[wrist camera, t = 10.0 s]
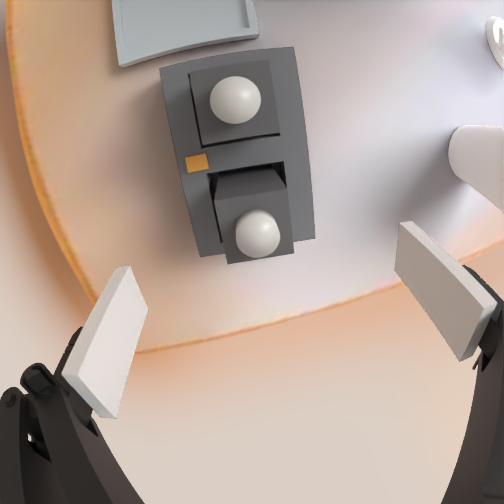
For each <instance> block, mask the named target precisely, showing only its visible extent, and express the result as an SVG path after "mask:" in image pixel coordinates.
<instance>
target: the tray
mask: <svg viewBox="0 0 504 504" xmlns="http://www.w3.org/2000/svg"><path fill="white" fill-rule="evenodd" d="M112 12H113V23H114V32H115V41H116V48H117V56H118V63H119V66H122V67H128V66H131V65H134V64H137V63H140V62H143V61H146V60H149V59H153V58H156V57H160V56H164V55H167V54H171V53H175V52H179V51H183V50H188V49H192V48H197V47H202V46H207V45H212V44H218V43H224V42H230V41H237V40H245V39H254V38H258V37H259V35H260V32H259V27H258V22H257V16H256V11H255V6H254V1H253V0H112Z"/></svg>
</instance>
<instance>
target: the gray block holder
mask: <svg viewBox="0 0 504 504" xmlns="http://www.w3.org/2000/svg"><path fill="white" fill-rule="evenodd" d="M159 70H160V76H161V82H162V88H163V93H164V99H165V104H166V110H167V115H168V120H169V125H170V130H171V135H172V140H173V145H174V149H175V154H176V159H177V163H178V168H179V172H180V177H181V181H182V185H183V190H184V194H185V198H186V202H187V207H188V211H189V215H190V219H191V223H192V227H193V231H194V235H195V239H196V242H197V246H198V250H199V254H200V257H205V256H211V255H217V254H223V253H225V249H224V245H223V240H222V236H221V231H220V227H219V222H218V217H217V213H216V208H215V203H214V198H215V193H216V187H217V182H218V177H219V173H222V172H227V171H233V170H239V169H245V168H251V167H257V166H264V165H270V164H271V166H272V167H273V169H274V170H275V172H276V173H277V174H278V176H279V177H280V179H281V180H282V182H283V183H284V185H285V186H286V188H287V191H288V199H289V208H290V217H291V227H292V236H293V242H297V241H303V240H309V239H315V225H314V210H313V196H312V184H311V173H310V163H309V153H308V144H307V135H306V126H305V118H304V111H303V103H302V96H301V89H300V82H299V76H298V69H297V63H296V57H295V51H294V47H283V48H270V49H259V50H251V51H243V52H235V53H229V54H223V55H217V56H211V57H206V58H201V59H196V60H191V61H187V62H183V63H178V64H174V65H170V66H167V67H163V68H159Z"/></svg>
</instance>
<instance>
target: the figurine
mask: <svg viewBox="0 0 504 504" xmlns="http://www.w3.org/2000/svg"><path fill="white" fill-rule="evenodd" d="M486 35H487V39H488V43H489V46H490V49H491V51H492V54H493V56H494V57H495V59H496V61H497V63H498V64H499V65H500V67H501V68H502V69H503V70H504V21H503V20H502V19H500V18H498V17H495V16H491V17H489V18H488V20H487V23H486Z"/></svg>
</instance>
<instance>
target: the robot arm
mask: <svg viewBox="0 0 504 504" xmlns="http://www.w3.org/2000/svg"><path fill="white" fill-rule="evenodd" d="M394 270H395V272H396V273H397V274H398V276H399V277H400V278H401V279H402V281H403V282H404V283H405V285H406V286H407V287H408V288H409V290H410V291H411V292H412V294H413V295H414V296H415V298H416V299H417V301H418V302H419V303H420V304H421V306H422V307H423V309H424V310H425V312H426V313H427V314H428V316H429V317H430V319H431V320H432V321H433V323H434V324H435V326H436V327H437V329H438V330H439V332H440V333H441V335H442V336H443V338H444V339H445V340H446V342H447V344H448V345H449V347H450V348H451V350H452V351H453V353H454V354H455V355H456V357H457V359H458V360H459V362H460V361H462V360H465V359H467V358H469V357H471V356H472V355H473V354H474V352H475V350H476V348H477V346H478V345H479V347H480V348H481V350H482V351H481V353H480V355H479V357H478V359H477V361H476V362H475V364H474V366H473V370H474V369H475V368H476V366H477V365H478V371H477V378H476V385H475V391H474V397H473V402H472V407H471V412H470V416H469V421H468V425H467V429H466V433H465V437H464V440H463V444H462V447H461V451H460V454H459V457H458V461H457V463H456V466H455V469H454V472H453V475H452V478H451V480H450V483H449V485H448V488H447V490H446V493H445V495H444V498H443V500H442V503H441V504H504V301H503V300H502V299H501V298H500V297H499V296H498V295H497V294H496V293H495V291H494V290H493V289H492V288H491V287H490V286H489V285H488V284H486V282H485V281H484V280H483V279H482V278H480V276H479V275H478V274H477V273H476V272H475V271H474V270H472V269H471V268H469V267H467V266H465V265H461V264H460V263H459V262H458V261H456V260H455V259H454V258H453V257H452V256H451V255H450V254H449V253H448V252H447V251H446V250H445V249H444V248H442V247H441V246H440V245H439V244H438V243H437V242H436V241H435V240H434V239H432V238H431V237H430V236H429V235H428V234H427V233H426V232H424V231H423V230H422V229H421V228H420V227H418V226H417V225H416V224H415V223H414V222H413V221H409V222H402V223H399V234H398V244H397V253H396V261H395V269H394ZM147 312H148V307H147V305H146V303H145V301H144V298H143V296H142V294H141V291H140V289H139V287H138V284H137V282H136V279H135V277H134V275H133V272H132V270H131V267H130V265H128V266H122V267H116V269H115V271H114V272H113V274H112V276H111V278H110V279H109V281H108V283H107V284H106V286H105V288H104V290H103V292H102V293H101V295H100V297H99V299H98V300H97V302H96V304H95V306H94V308H93V310H92V312H91V314H90V315H89V318H88V319H87V321H86V323H85V325H84V327H80V328H79V329H78V330H77V331H76V332H75V333H74V334H73V336H72V338H71V339H70V341H69V343H68V346H67V347H66V350H65V353H64V354H63V356H62V358H61V360H60V362H59V364H58V366H57V368H56V370H55V373H54V375H52V374H51V373H50V371H49V370H48V369H47V368H46V367H45V365H44V364H42V363H35V364H33V365H31V366H29V367H28V368H27V369H26V370H25V371H24V373H23V374H22V376H21V379H20V384H21V385H22V387H23V388H24V389H25V390H26V391H27V392H28V393H29V394H25V395H24V394H23V393H22V392H21V391H20V390H19V389H18V388H16V387H11V388H9V389H7V390H6V391H5V392H4V393H3V395H2V397H1V399H0V504H145V503H144V502H143V501H142V499H141V498H140V497H139V495H138V494H137V492H136V491H135V489H134V488H133V487H132V485H131V483H130V482H129V481H128V479H127V477H126V476H125V474H124V473H123V471H122V469H121V468H120V466H119V464H118V463H117V461H116V459H115V458H114V456H113V454H112V453H111V451H110V449H109V447H108V445H107V444H106V442H105V440H104V438H103V436H102V434H101V432H100V430H99V428H98V427H97V424H96V422H95V421H94V419H93V418H92V417H91V414H92V410H94V411H95V412H96V413H97V414H98V415H99V416H100V417H103V418H113V419H116V418H117V415H118V411H119V407H120V403H121V399H122V395H123V391H124V387H125V383H126V380H127V377H128V373H129V370H130V366H131V363H132V359H133V356H134V353H135V349H136V346H137V343H138V340H139V337H140V333H141V330H142V327H143V324H144V321H145V318H146V315H147ZM28 434H29V435H30V436H31V439H32V440H31V442H30V441H29V440H28Z"/></svg>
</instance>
